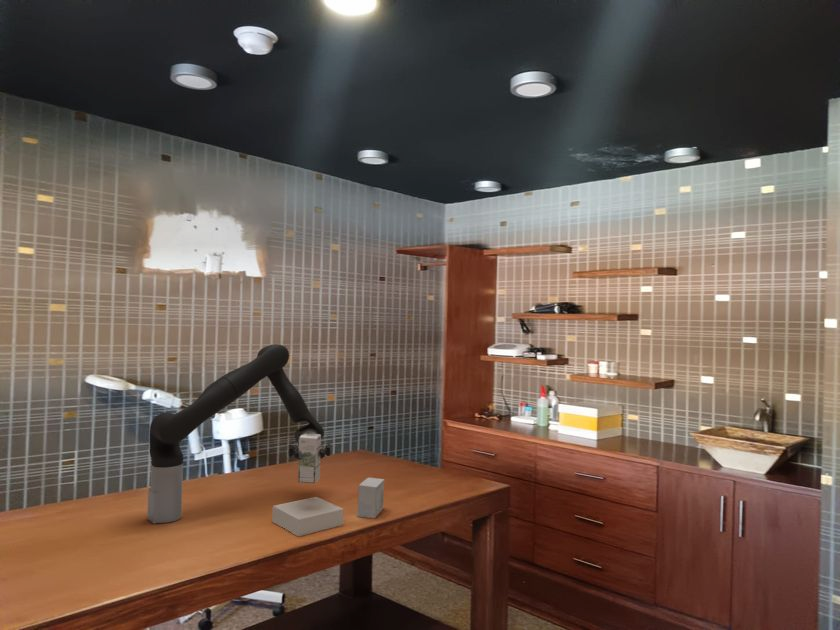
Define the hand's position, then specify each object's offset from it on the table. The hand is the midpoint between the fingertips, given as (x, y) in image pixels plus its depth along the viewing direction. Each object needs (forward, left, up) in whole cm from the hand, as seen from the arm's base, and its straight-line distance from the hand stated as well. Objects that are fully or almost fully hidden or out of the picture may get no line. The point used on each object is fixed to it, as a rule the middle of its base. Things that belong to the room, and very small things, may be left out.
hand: (309, 455), depth 178 cm
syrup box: (+1, +2, -9) cm, 9 cm away
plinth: (+1, +2, -22) cm, 22 cm away
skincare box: (+23, -2, -22) cm, 32 cm away
